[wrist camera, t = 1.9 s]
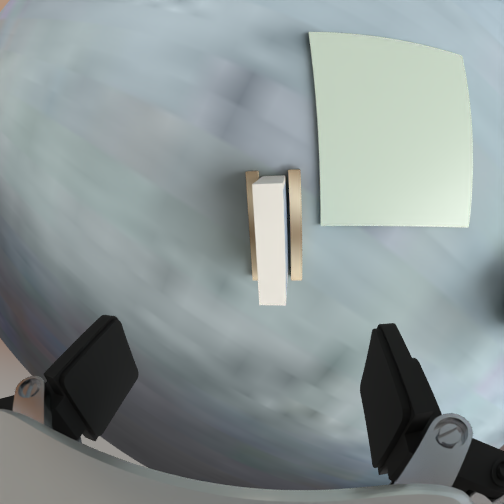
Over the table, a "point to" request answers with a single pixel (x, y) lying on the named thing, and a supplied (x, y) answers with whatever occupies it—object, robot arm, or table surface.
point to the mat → (391, 132)
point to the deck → (271, 238)
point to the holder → (294, 222)
